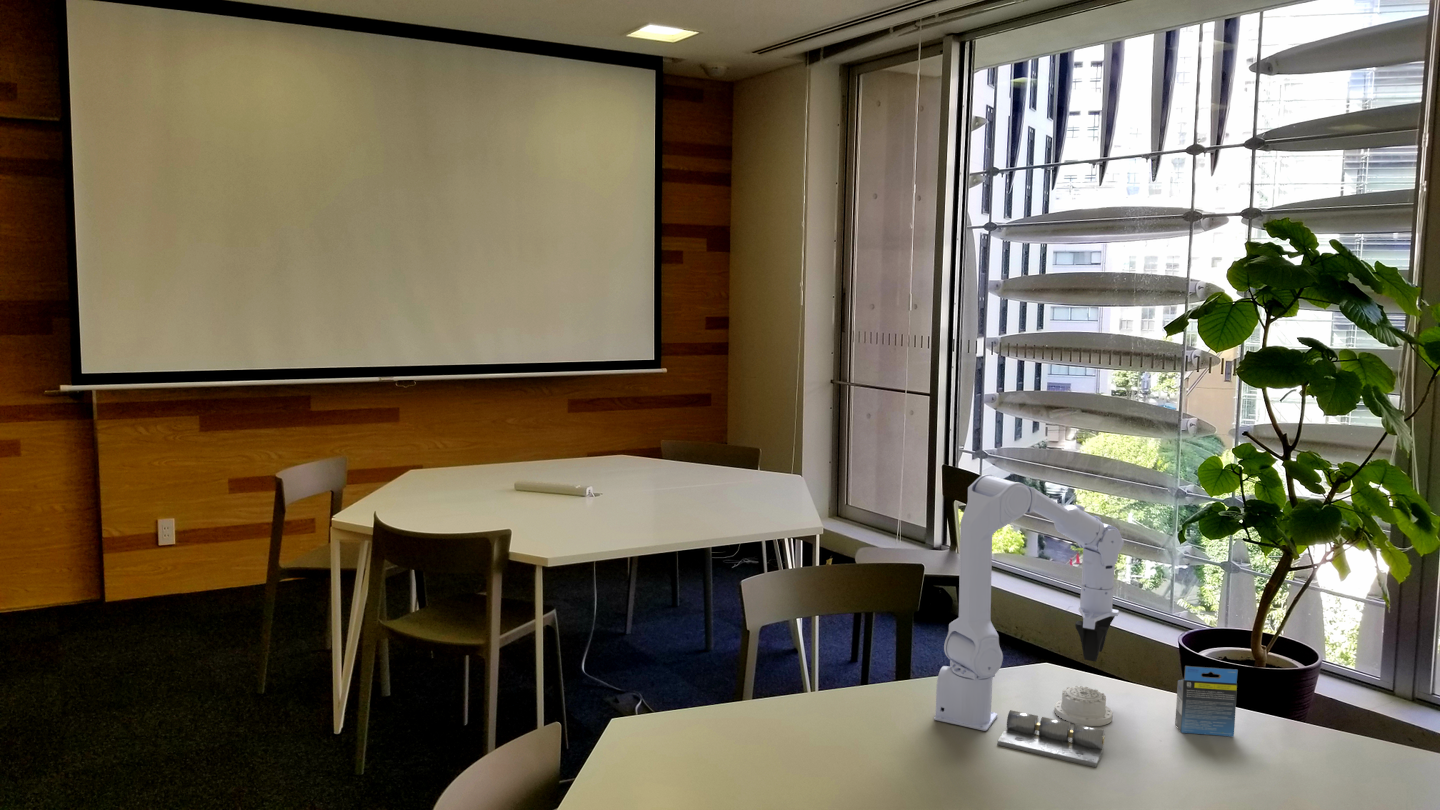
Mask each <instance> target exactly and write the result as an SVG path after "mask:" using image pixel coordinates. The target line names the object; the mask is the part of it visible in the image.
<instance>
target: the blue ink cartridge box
mask: <svg viewBox="0 0 1440 810" xmlns="http://www.w3.org/2000/svg"><path fill="white" fill-rule="evenodd" d="M1238 672H1239V670H1238V669H1236V668H1235V669H1233V668H1221V667H1220V668H1219V667H1209V666H1208V667H1207V666H1206V667H1205V666H1193V665H1192V666H1191V665H1185V666H1184V675H1183V679H1179V680H1177V689H1176V702H1175V703H1176V707H1175V718H1174V719H1175V721H1174V724H1175V727H1176V726H1177V727H1178V728H1177V727H1176V728H1177V730H1178V731H1179V730H1180V731H1179V732H1180V733H1181V734H1193V735H1194V734H1195V735H1207V736H1208V735H1209V736H1219V737H1220V736H1221V737H1230V738H1234V737H1235V727H1236V725H1235V722H1236V708H1237V706H1236V705H1237V694H1238V691H1237V690H1238V689H1237V688H1238V683H1237V681H1238ZM1210 673H1212V675H1217V676H1218V677H1216V676H1215V677H1210V676H1203V674H1206V675H1207V674H1208V675H1209V674H1210Z"/></svg>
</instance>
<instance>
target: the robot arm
mask: <svg viewBox="0 0 1440 810" xmlns="http://www.w3.org/2000/svg"><path fill="white" fill-rule="evenodd" d="M1027 513H1028V514H1031V513H1035V514H1038V515H1039V516H1041V517H1043V518H1045V519H1048V520H1049V521H1052V522H1053V526H1054V530H1055V531H1056V532H1057V533H1059V534H1060V535H1063V536H1064V537H1066V538H1068V539H1069V540H1072V541H1074V542H1075V543H1076V544H1077V546H1078V547H1079V548H1080V549H1082V566H1081V568H1082V569H1081V582H1080V583H1081V584H1080V599H1079V600H1080V601H1079V605H1078V612H1079V613H1080V615H1081V616H1082V619H1083V620H1076V622H1075V624H1074V625H1075V629H1076V631H1077V633H1078V637H1079V638H1080V643H1081V648H1082V654H1083V659H1084V660H1085V661H1090V662H1097V660H1098V659H1099V658H1098V657H1099V654H1100V653H1102V652H1103V650H1104V646H1105V643H1106V640H1107V639H1106V638H1107V634H1108V632H1109V628H1110V627H1111V624H1112V622H1113V621H1114V619H1115V617H1118V616H1119V614H1120V612H1119V611H1120V610H1119V609H1113V599H1114V586H1115V585H1114V583H1115V567H1116V566H1115V565H1116V564H1117V562H1118V559H1119V554H1120V552H1121V551H1122V549H1123V547H1124V544H1125V543H1124V542H1125V539H1123V537H1122V533H1121V532H1120V530H1119V529H1118V528H1117V527H1116V526H1114V525H1111V524H1107V523H1104V522H1102V518H1101V517H1100V516H1098V515H1091V514H1090V513H1088V512H1086V508H1085V507H1084V506H1082V505H1080V504H1074V505H1073V504H1067V505H1063V506H1062V505H1061V504H1059V503H1057V501H1055V500H1053V499H1052V498H1050V497H1048V496H1047V495H1045V494H1044V493H1042V492H1041V491H1039V490H1038V489H1036V488H1034V487H1031V486H1028V485H1026V484H1024V483H1022V482H1018V481H1017V482H1015V481H1012V480H1009V479H1006V478H1005V479H1004V478H1001V477H998V476H995V475H992V474H989V473H987V474H986V473H985V474H982V475H980V476H979V477H977V478H976V479H975V480H974V481H973V482H972V483H971V484H970V485H969V486H968V487H967V502H966V506H965V508H964V511H963V513H962V516H961V519H960V524H959V525H960V526H959V527H960V529H959V578H958V579H959V580H958V581H959V584H958V585H959V587H958V617H957V618H956V619H954V620H953V621H951V622H949V624H948V632H947V636H946V638H945V640H944V643H943V644H944V645H943V651H944V654H945V656H946V657H947V658H948V660H949V666H947V665H943V666H942V667H941V668H940V670H939V672H938V675H937V680H936V681H937V682H936V692H935V693H936V695H935V715H934V717H933V719H934V720H935V721H938V722H943V723H947V724H952V725H957V726H960V727H965V728H970V729H974V730H979V731H984V732H985V731H988V730H989V728H990V727H991V726H992V724H993V723H994V721H995V720H996V718H998V713H997V712H993V711H992V700H993V699H992V698H993V680H994V679H993V678H995V677H996V674H997V673H998V672H999V671H1000V669H1001V667H1002V664H1003V660H1004V654H1003V651H1002V649H1001V648H1002V647H1000V636H999V633H998V632H997V630H996V629H995V627H994V624H993V623H992V621H991V614H992V613H991V610H992V609H991V606H992V605H991V604H992V571H993V570H992V568H993V567H992V564H993V563H992V562H993V560H992V558H993V535H994V534H995V533H996V532H997V531H998V530H1000V529H1002V528H1005V527H1007V526H1009V525H1010V524H1011V523H1013V522H1015V521H1016V520H1019V519H1020V518H1022V517H1023V516H1024V515H1026V514H1027ZM1099 652H1100V653H1099Z"/></svg>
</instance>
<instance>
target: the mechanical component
mask: <svg viewBox="0 0 1440 810" xmlns="http://www.w3.org/2000/svg"><path fill="white" fill-rule="evenodd" d="M1053 711H1054V713H1056V714H1055V715H1056V716H1057V717H1058V716H1059V717H1058V718H1060V719H1061V718H1062V719H1061V720H1062V721H1065V720H1066V721H1065V722H1070V723H1072V724H1074V725H1075V724H1079V725H1084V726H1089V727H1099V726H1100V727H1101V726H1105V725H1107V724H1110V723H1111V722H1112V720H1113V710H1112V709H1111V708H1110V707H1108V706H1107V696H1106V695H1105V693H1103V692H1099V690H1098V689H1093V688H1089V687H1087V686H1082V685H1081V686H1078V685H1075V686H1071V687H1069V686H1067V687H1066V688H1065V689H1063V690H1062V695H1061V699H1060V700H1057V701H1056V702H1054V710H1053Z"/></svg>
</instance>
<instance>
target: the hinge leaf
mask: <svg viewBox="0 0 1440 810" xmlns="http://www.w3.org/2000/svg"><path fill="white" fill-rule="evenodd" d="M1037 733H1038V734H1037ZM1105 735H1106V734H1105V729H1102V728H1097V727H1094V726H1085V725H1079V724H1074V726H1073V729H1072V724H1071V722H1068V721H1065V720H1061V719H1060V720H1059V719H1055V718H1050V717H1045V716H1041V719H1040V722H1039V716H1038V715H1035V714H1031V713H1026V712H1022V711H1018V710H1013V709H1010V710H1009V711H1008V714H1007V719H1006V728H1005V729H1004V730H1003V732H1002V734H1001V735H1000V736H999V737H998V739H997V746H998V747H999V746H1000V747H1004V748H1008V749H1009V748H1010V749H1014V750H1018V751H1021V752H1022V751H1023V752H1025V753H1030V754H1033V755H1035V754H1036V755H1038V756H1039V755H1040V756H1043V757H1044V756H1045V757H1049V758H1052V759H1053V758H1054V759H1057V760H1061V761H1065V762H1068V763H1069V762H1070V763H1074V764H1077V765H1078V764H1079V765H1084V766H1087V767H1091V768H1097V766H1098V764H1099V761H1100V760H1101V757H1102V755H1103V752H1104V751H1103V750H1104V745H1105V738H1106V737H1105ZM1070 740H1072V741H1070Z"/></svg>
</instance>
